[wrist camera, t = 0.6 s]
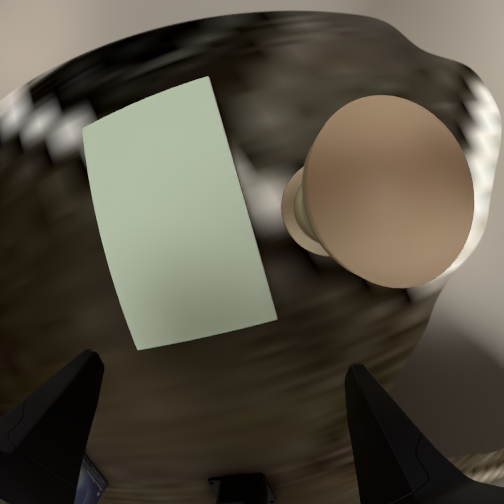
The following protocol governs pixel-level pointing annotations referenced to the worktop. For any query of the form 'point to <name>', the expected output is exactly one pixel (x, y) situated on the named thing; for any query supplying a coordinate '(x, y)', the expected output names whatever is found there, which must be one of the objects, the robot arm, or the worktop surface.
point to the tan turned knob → (383, 193)
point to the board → (175, 219)
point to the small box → (89, 483)
